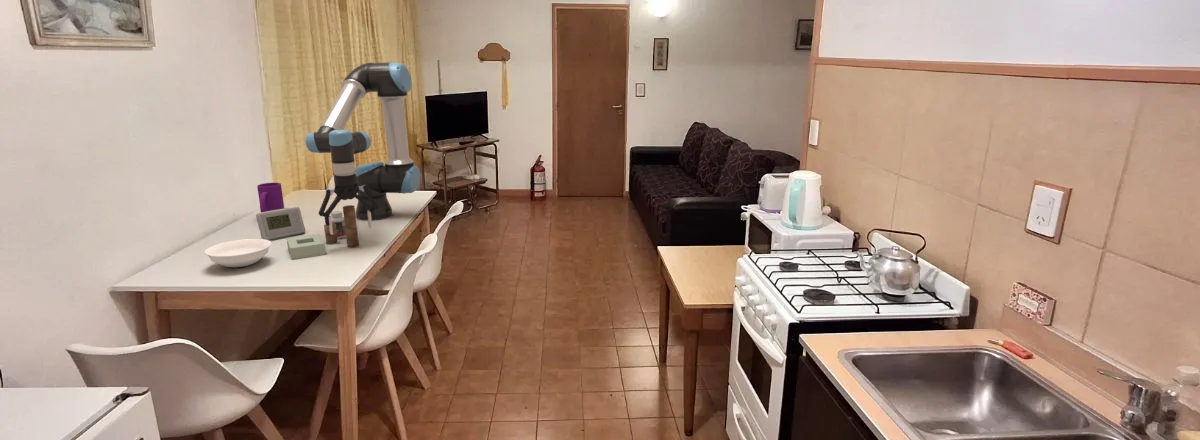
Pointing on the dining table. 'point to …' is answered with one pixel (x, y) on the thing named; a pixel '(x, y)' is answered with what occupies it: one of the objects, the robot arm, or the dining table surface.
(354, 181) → the robot arm
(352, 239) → the long dowel
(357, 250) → the dining table surface
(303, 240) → the hole board
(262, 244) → the bowl
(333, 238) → the short dowel
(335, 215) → the pill bottle
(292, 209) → the digital clock
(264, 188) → the mug
